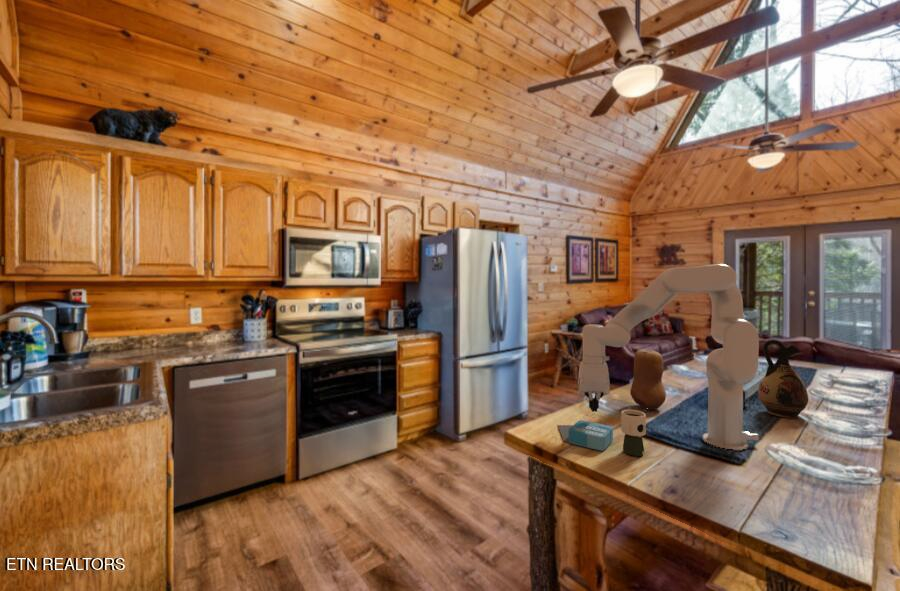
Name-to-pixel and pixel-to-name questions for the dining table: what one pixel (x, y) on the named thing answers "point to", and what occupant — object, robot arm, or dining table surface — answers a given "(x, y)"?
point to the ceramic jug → (782, 383)
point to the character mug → (633, 431)
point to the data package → (591, 435)
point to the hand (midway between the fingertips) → (593, 410)
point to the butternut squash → (648, 379)
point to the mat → (565, 431)
